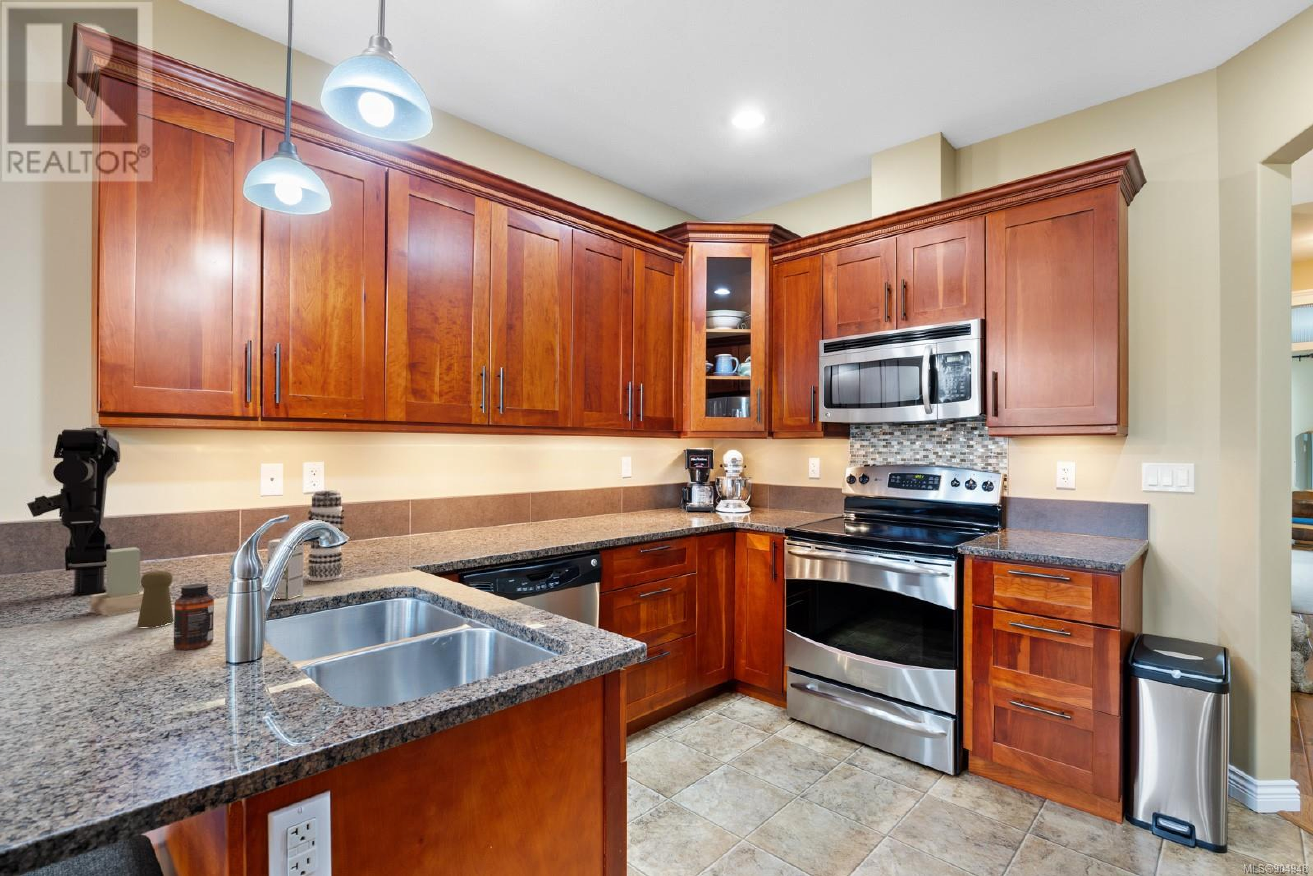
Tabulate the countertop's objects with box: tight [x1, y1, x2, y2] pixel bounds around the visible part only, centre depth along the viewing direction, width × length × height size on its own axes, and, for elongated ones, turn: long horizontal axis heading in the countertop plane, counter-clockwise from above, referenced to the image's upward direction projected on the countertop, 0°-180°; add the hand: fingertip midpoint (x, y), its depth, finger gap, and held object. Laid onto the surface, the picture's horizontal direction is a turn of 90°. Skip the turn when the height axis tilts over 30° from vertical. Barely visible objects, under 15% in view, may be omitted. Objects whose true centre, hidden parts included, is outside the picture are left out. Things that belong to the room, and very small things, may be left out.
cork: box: [136, 570, 174, 628], centre depth 129 cm, size 6×6×11 cm
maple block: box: [90, 589, 144, 617], centre depth 140 cm, size 8×8×4 cm
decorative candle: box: [307, 490, 345, 582], centre depth 177 cm, size 9×9×25 cm
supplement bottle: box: [173, 583, 215, 651], centre depth 115 cm, size 6×6×11 cm
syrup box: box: [267, 537, 304, 601], centre depth 153 cm, size 6×6×14 cm
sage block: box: [105, 546, 141, 597], centre depth 140 cm, size 5×5×10 cm
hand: (77, 549), depth 143 cm, fingers open, 9 cm apart
